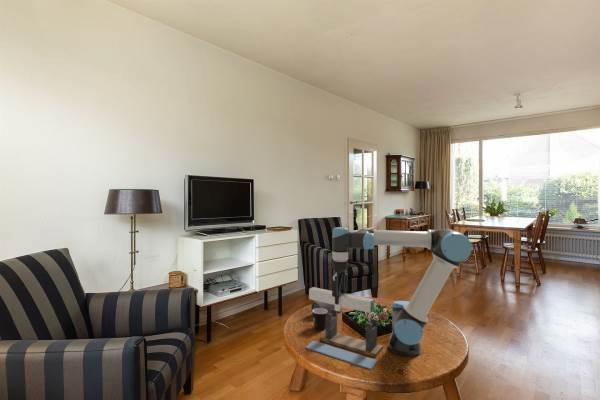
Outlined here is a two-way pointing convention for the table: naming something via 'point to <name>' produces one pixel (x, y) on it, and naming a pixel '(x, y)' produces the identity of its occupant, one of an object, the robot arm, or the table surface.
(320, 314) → the coffee mug
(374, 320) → the wooden stand
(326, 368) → the table surface
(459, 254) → the robot arm
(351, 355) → the mat
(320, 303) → the bluetooth speaker
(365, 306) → the rail
